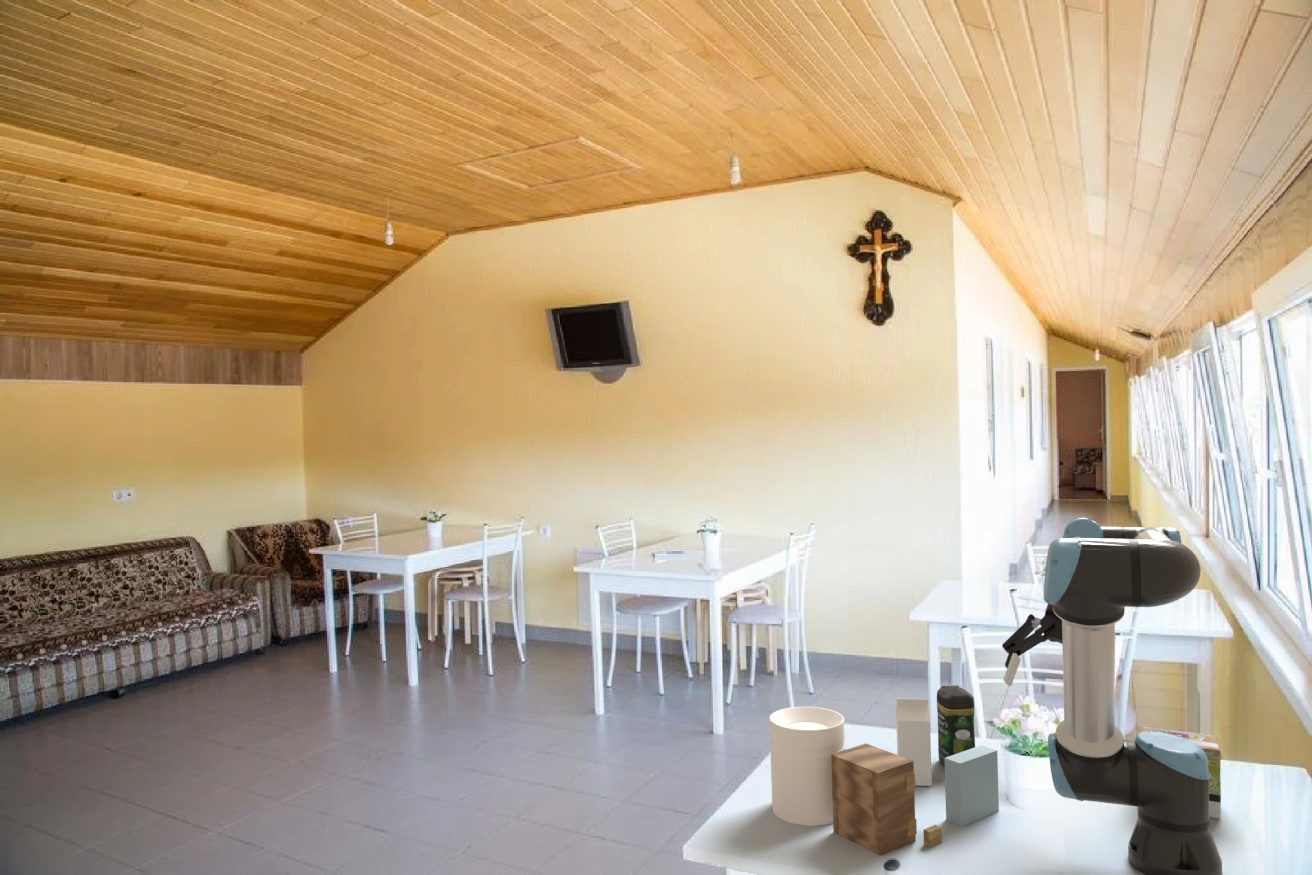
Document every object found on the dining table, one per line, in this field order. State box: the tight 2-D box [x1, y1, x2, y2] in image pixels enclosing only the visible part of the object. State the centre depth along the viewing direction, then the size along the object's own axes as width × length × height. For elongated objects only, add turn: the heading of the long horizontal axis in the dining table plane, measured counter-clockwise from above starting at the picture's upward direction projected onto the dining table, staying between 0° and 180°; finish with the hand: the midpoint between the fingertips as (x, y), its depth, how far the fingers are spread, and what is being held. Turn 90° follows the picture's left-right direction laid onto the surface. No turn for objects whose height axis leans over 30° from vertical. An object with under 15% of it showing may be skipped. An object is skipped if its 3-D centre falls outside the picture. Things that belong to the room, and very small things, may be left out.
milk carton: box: [895, 697, 933, 787], centre depth 214 cm, size 7×7×19 cm
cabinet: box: [831, 743, 943, 856], centre depth 186 cm, size 16×14×16 cm
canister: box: [769, 706, 846, 827], centre depth 200 cm, size 16×16×20 cm
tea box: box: [1138, 725, 1222, 820], centre depth 196 cm, size 15×10×15 cm
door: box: [944, 745, 1000, 827], centre depth 194 cm, size 4×12×13 cm, turn 123°
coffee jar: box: [936, 684, 976, 767], centre depth 222 cm, size 10×8×19 cm
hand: (1038, 690), depth 193 cm, fingers open, 13 cm apart
